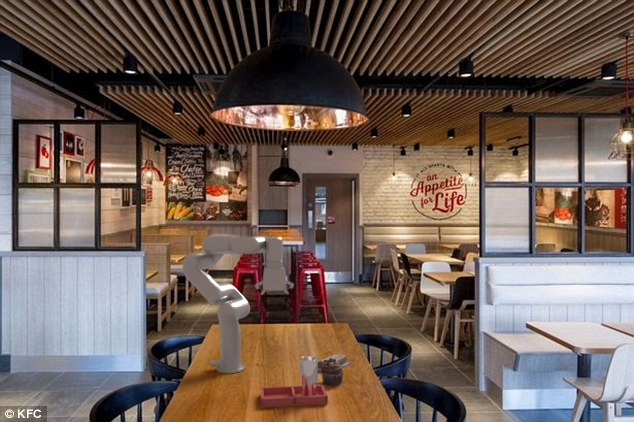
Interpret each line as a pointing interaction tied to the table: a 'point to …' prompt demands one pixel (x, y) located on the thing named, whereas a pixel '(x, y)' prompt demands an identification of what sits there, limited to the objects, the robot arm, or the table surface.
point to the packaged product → (339, 358)
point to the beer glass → (308, 375)
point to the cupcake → (331, 372)
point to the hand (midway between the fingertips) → (274, 303)
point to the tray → (291, 396)
